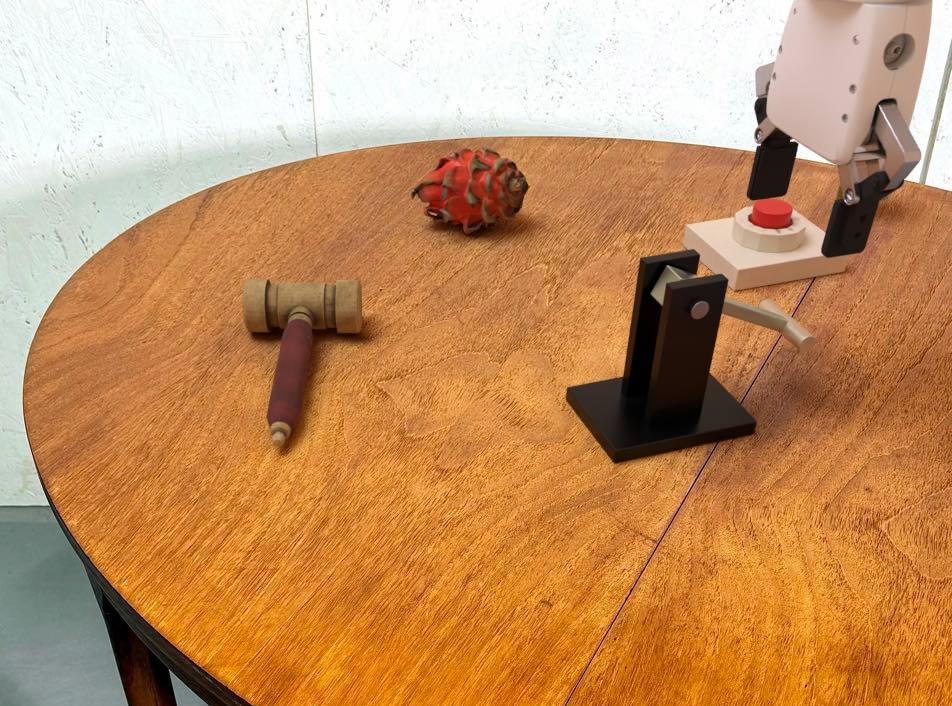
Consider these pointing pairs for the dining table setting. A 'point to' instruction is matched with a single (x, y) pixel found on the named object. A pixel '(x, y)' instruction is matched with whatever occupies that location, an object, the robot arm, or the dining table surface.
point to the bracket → (665, 371)
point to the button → (771, 214)
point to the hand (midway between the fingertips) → (802, 224)
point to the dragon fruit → (473, 189)
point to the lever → (747, 312)
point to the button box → (761, 250)
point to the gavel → (297, 335)
